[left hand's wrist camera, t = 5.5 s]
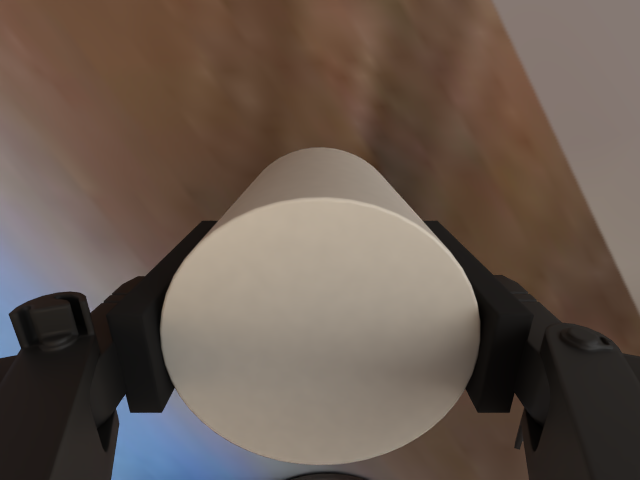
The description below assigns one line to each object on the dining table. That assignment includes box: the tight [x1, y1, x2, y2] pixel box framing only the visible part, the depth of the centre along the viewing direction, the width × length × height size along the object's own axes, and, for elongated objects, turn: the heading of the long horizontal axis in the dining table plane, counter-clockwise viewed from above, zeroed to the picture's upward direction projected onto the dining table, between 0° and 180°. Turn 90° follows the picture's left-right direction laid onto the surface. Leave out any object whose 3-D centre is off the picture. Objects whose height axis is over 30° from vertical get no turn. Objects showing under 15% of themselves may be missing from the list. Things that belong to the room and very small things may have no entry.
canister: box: [160, 147, 480, 465], centre depth 13 cm, size 8×8×9 cm
